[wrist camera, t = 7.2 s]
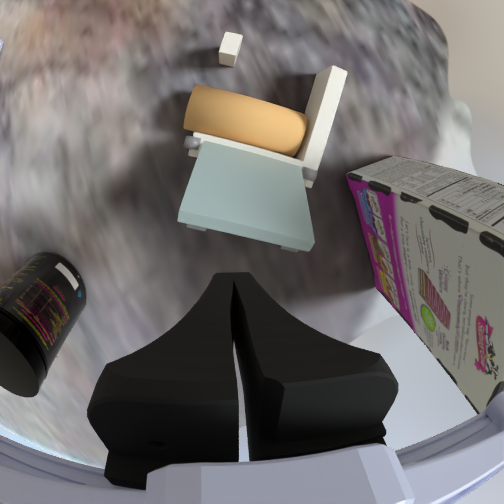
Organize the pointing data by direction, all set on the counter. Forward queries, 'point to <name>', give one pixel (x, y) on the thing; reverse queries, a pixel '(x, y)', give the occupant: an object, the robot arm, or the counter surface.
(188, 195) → the cover flap
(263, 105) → the tan cylinder roller
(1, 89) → the counter surface
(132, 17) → the counter surface
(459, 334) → the candy bar box
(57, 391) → the counter surface
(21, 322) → the supplement container
